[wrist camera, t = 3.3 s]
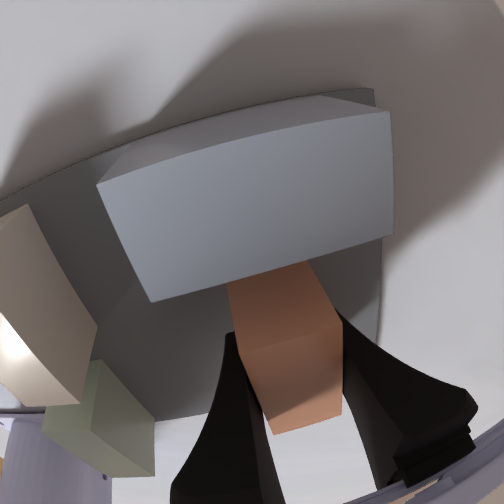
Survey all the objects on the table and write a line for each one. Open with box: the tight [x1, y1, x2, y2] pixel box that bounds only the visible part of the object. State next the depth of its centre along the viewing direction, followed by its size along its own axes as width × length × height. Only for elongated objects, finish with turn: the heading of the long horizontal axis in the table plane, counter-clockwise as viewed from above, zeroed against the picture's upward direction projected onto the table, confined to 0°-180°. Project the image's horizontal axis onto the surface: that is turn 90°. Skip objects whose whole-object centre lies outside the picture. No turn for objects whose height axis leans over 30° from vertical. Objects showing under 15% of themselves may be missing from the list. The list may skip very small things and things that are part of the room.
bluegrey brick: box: [96, 95, 394, 303], centre depth 8 cm, size 6×3×4 cm, turn 102°
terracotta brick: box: [226, 260, 343, 435], centre depth 12 cm, size 6×3×4 cm, turn 12°
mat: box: [0, 88, 382, 422], centre depth 13 cm, size 15×17×1 cm
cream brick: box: [0, 203, 98, 407], centre depth 9 cm, size 6×3×4 cm, turn 12°
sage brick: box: [41, 359, 155, 478], centre depth 13 cm, size 6×3×4 cm, turn 12°
